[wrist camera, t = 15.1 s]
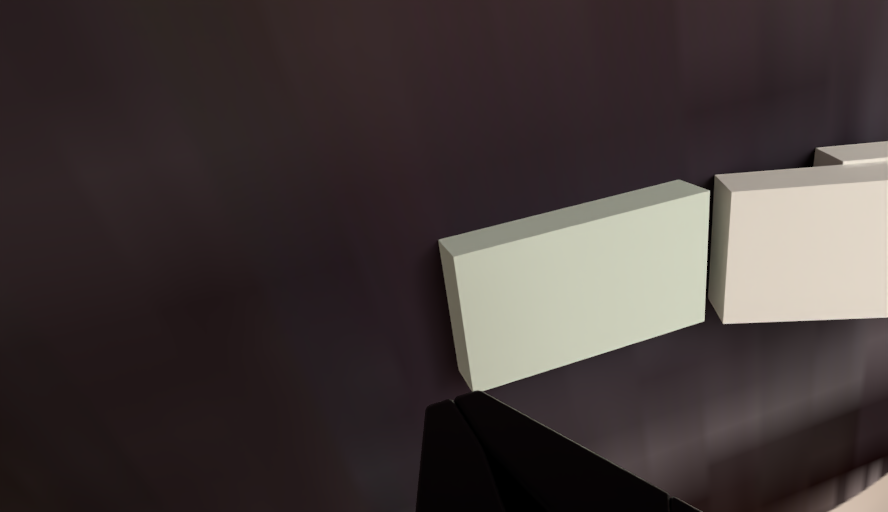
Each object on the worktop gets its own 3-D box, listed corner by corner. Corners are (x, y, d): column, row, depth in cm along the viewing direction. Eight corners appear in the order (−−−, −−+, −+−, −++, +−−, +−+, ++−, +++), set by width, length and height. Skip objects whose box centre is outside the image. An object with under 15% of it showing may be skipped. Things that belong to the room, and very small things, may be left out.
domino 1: (473, 394, 20) (704, 321, 22) (453, 257, 18) (710, 190, 20) (454, 363, 21) (669, 298, 23) (434, 235, 19) (671, 176, 21)
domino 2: (722, 323, 21) (1008, 312, 20) (731, 191, 19) (1049, 168, 18) (708, 297, 23) (969, 285, 22) (714, 174, 21) (1001, 151, 20)
